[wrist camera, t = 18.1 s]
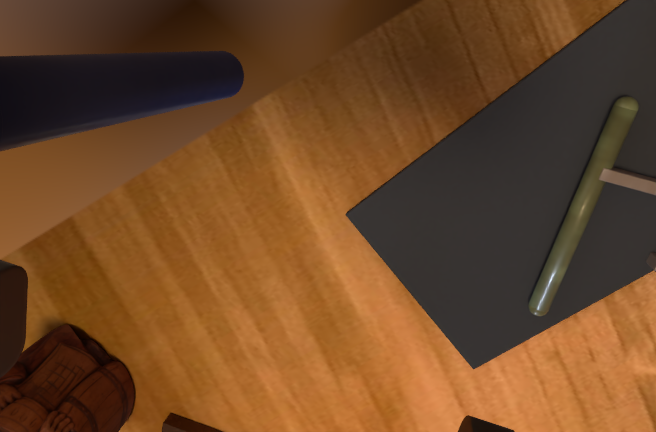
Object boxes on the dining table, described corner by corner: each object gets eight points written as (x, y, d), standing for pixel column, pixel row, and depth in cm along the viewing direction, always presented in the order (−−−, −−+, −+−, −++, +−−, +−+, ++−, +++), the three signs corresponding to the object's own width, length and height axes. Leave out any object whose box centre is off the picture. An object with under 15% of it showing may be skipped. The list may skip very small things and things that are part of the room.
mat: (473, 365, 42) (473, 369, 41) (346, 212, 40) (345, 214, 40) (824, 170, 32) (831, 172, 32) (677, -39, 31) (682, -41, 30)
